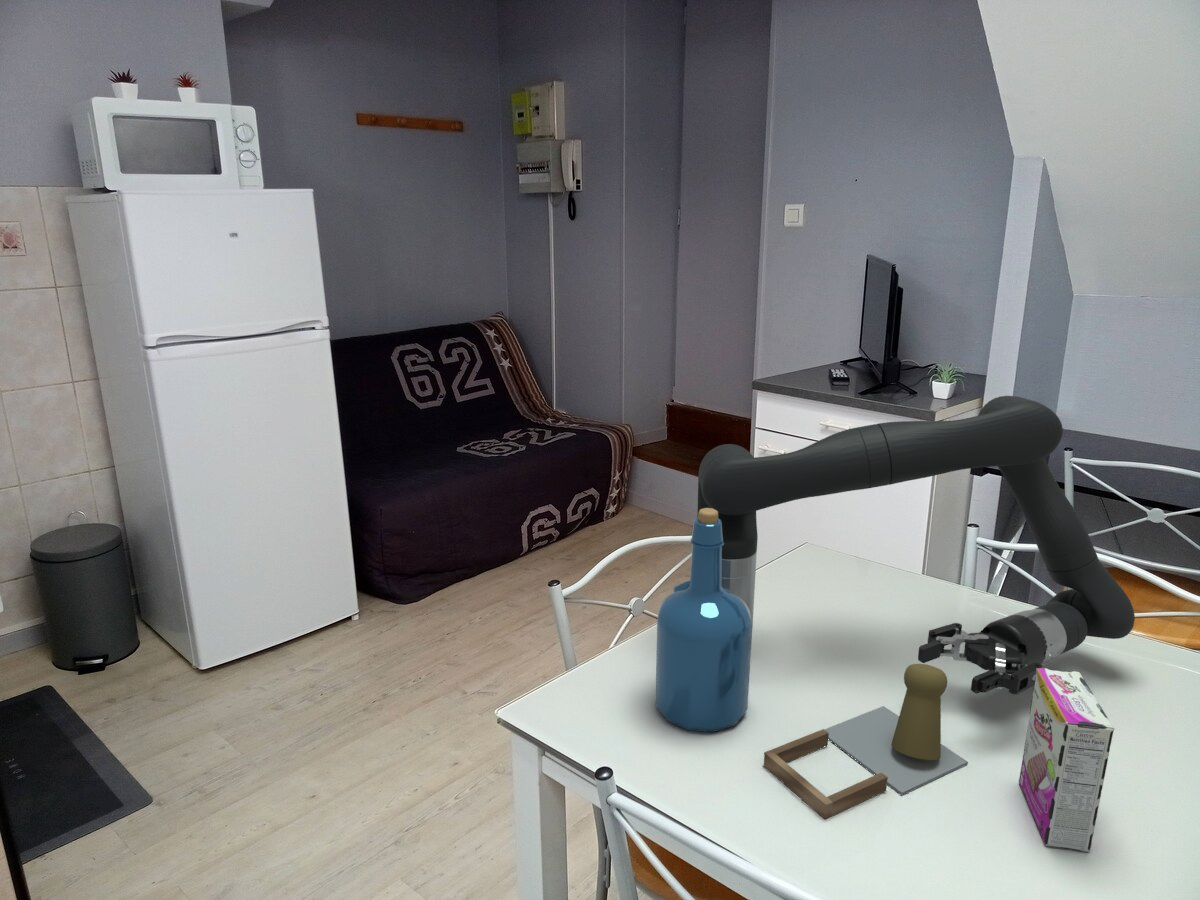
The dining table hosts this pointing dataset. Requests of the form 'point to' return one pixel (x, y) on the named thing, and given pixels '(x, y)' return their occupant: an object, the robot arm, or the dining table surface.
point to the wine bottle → (703, 641)
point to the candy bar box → (1065, 758)
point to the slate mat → (889, 751)
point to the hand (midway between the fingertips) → (946, 670)
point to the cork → (921, 713)
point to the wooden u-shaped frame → (805, 790)
